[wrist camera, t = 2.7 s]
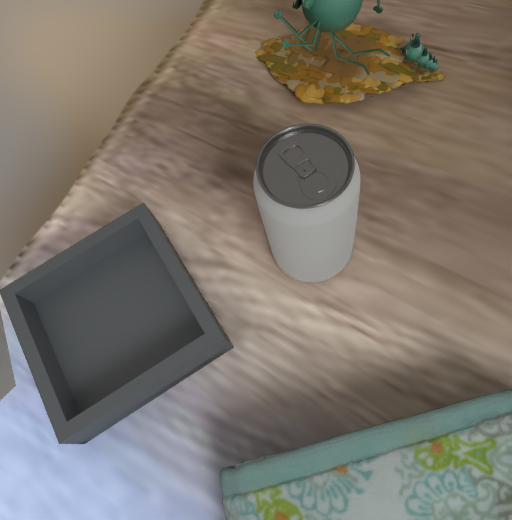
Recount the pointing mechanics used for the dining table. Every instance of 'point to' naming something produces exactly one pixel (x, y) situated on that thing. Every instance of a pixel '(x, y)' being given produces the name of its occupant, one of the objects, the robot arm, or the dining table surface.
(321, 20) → the frog figurine
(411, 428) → the towel
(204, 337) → the tray
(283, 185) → the can
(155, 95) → the dining table surface
